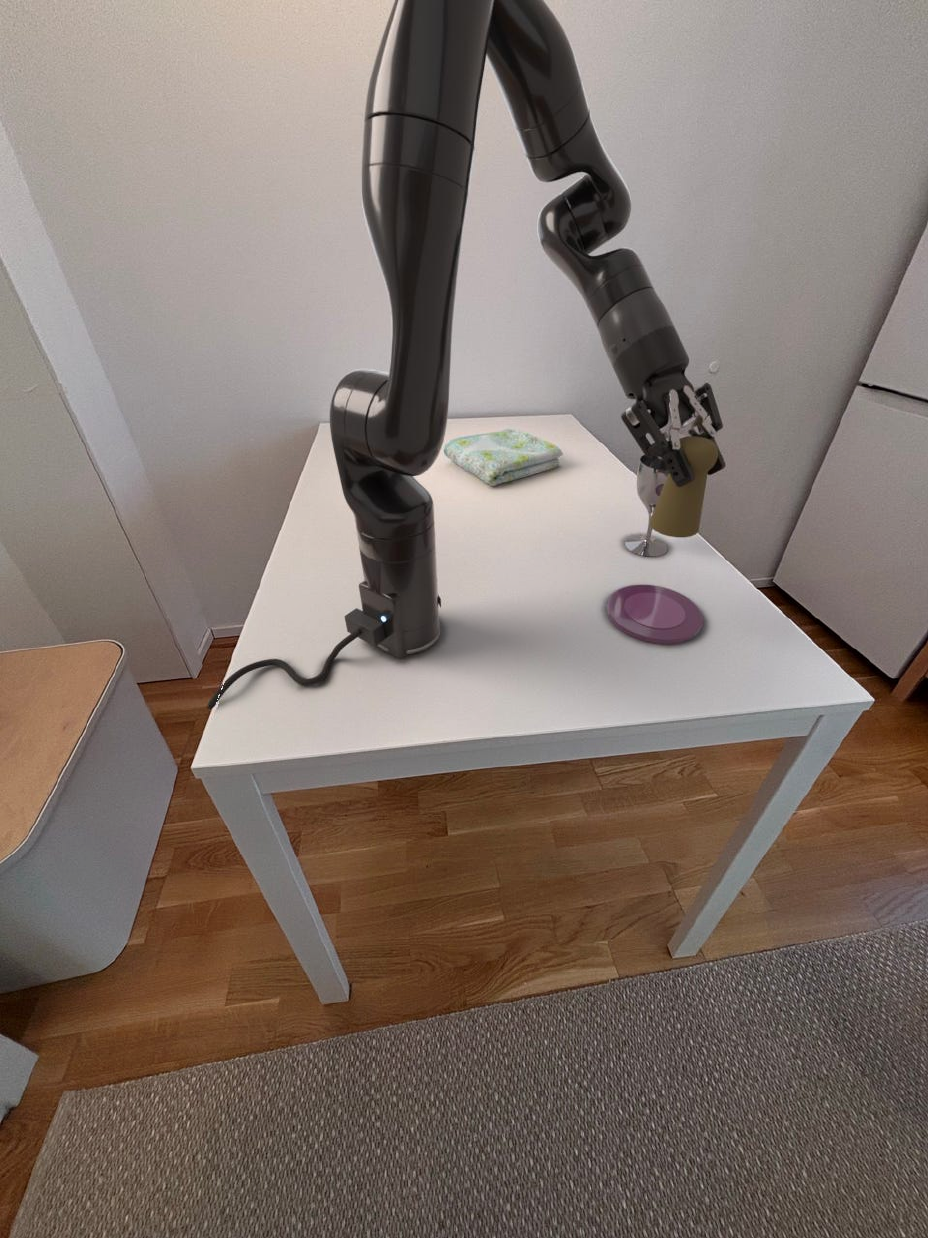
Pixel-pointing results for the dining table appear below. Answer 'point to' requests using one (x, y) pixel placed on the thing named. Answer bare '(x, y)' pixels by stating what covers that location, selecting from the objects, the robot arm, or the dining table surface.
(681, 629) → the saucer
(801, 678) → the dining table surface
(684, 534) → the cork
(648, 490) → the wine glass
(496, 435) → the towel
